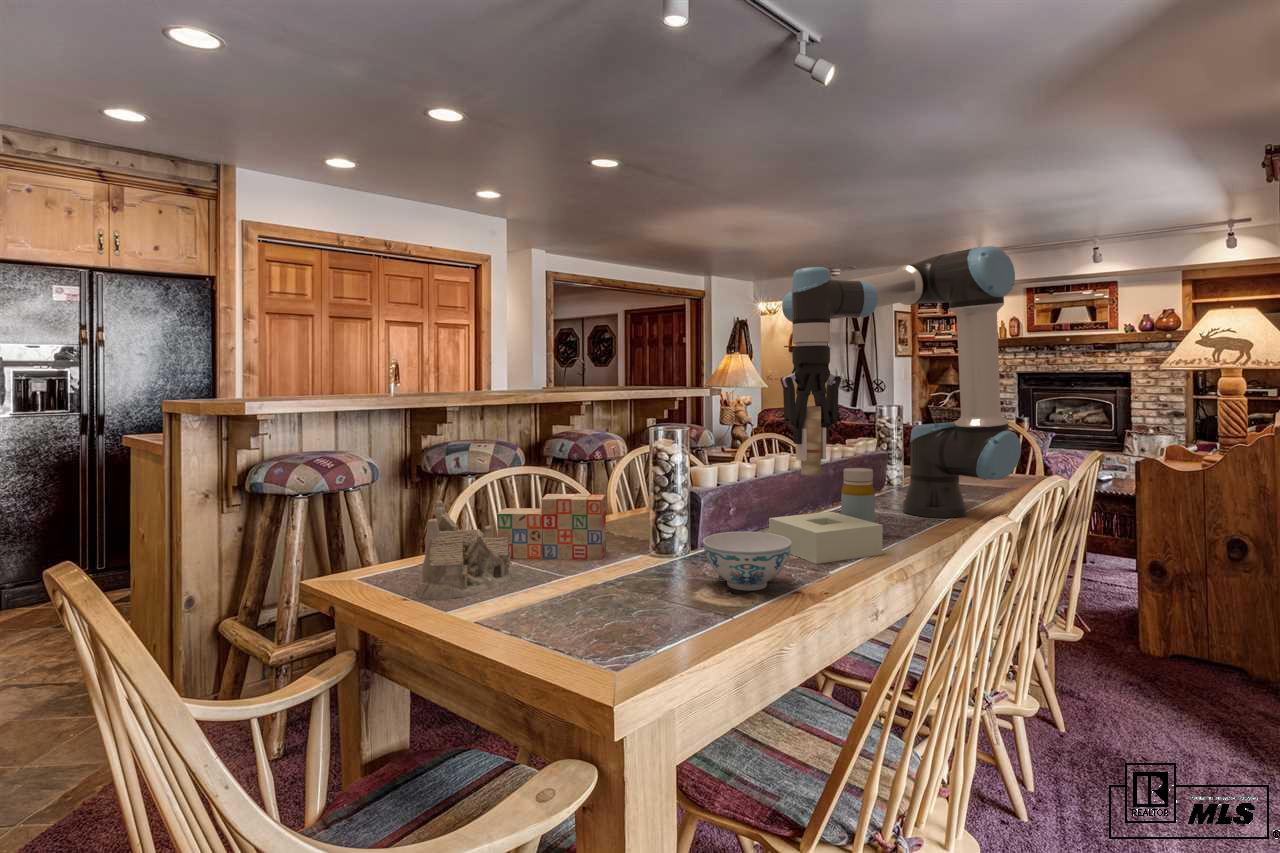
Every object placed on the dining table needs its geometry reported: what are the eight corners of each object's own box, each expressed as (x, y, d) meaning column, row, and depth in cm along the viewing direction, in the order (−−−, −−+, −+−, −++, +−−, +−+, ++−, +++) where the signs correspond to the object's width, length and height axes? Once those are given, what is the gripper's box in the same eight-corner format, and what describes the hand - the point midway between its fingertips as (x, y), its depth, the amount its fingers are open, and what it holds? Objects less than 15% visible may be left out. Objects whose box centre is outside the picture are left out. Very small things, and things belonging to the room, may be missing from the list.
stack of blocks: (497, 559, 144) (495, 498, 143) (505, 551, 150) (503, 493, 150) (603, 559, 143) (602, 498, 142) (606, 552, 149) (605, 493, 148)
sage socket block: (830, 538, 158) (831, 511, 157) (882, 554, 143) (882, 524, 142) (769, 546, 151) (769, 518, 151) (816, 563, 137) (816, 532, 136)
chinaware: (803, 579, 126) (803, 536, 126) (773, 603, 113) (773, 555, 113) (724, 569, 134) (724, 528, 133) (688, 590, 121) (687, 545, 120)
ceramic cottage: (405, 599, 118) (409, 508, 117) (432, 575, 134) (436, 495, 134) (500, 604, 118) (504, 513, 118) (516, 579, 134) (520, 500, 134)
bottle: (834, 535, 160) (834, 468, 159) (858, 532, 163) (859, 466, 162) (856, 541, 154) (856, 472, 153) (881, 538, 157) (881, 470, 156)
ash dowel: (813, 472, 151) (813, 405, 150) (825, 474, 147) (825, 406, 146) (796, 473, 149) (796, 406, 148) (808, 476, 146) (808, 407, 145)
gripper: (834, 346, 153) (833, 455, 155) (765, 346, 147) (765, 459, 148) (857, 344, 146) (856, 458, 148) (785, 344, 140) (785, 463, 141)
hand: (811, 459), depth 148 cm, fingers closed on ash dowel, 4 cm apart
